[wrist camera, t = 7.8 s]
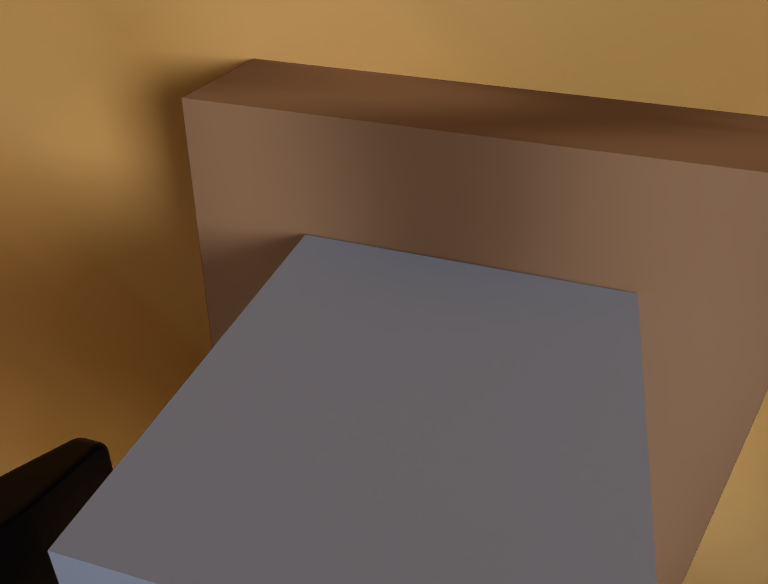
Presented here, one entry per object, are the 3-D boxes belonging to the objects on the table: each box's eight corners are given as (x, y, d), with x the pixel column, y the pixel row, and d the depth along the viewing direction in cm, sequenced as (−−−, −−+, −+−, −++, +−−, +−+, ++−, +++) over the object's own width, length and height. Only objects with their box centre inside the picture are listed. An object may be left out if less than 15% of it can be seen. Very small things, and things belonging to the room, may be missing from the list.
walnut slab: (801, 111, 11) (858, 184, 8) (656, 502, 15) (664, 622, 13) (265, 52, 12) (181, 97, 10) (285, 418, 17) (232, 508, 15)
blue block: (637, 294, 10) (668, 737, 5) (569, 525, 12) (542, 958, 7) (305, 234, 11) (47, 550, 6) (309, 460, 13) (136, 805, 8)
